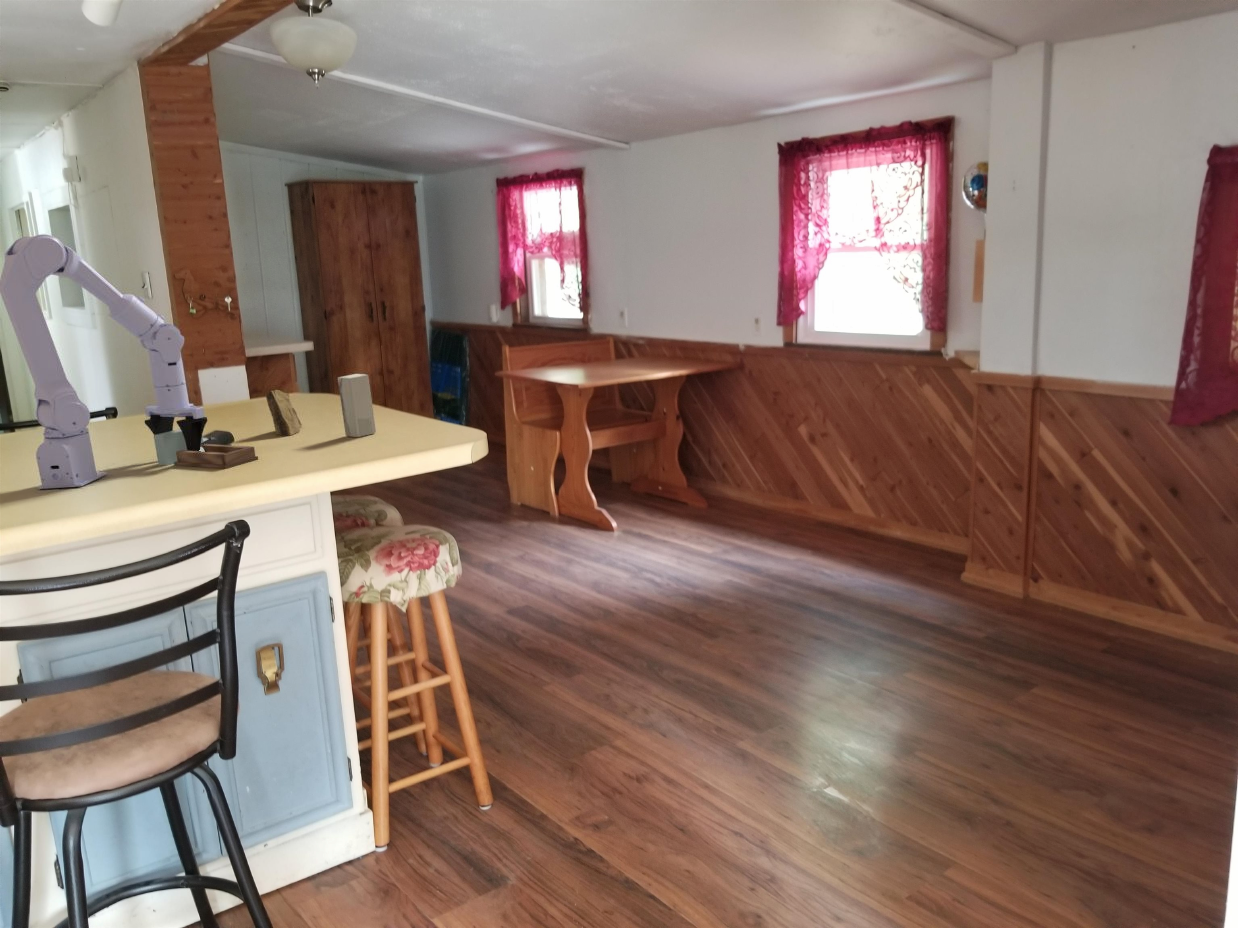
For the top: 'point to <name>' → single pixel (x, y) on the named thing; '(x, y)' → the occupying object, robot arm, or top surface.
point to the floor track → (216, 456)
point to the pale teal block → (169, 446)
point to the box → (356, 405)
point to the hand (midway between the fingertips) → (181, 452)
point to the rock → (283, 413)
